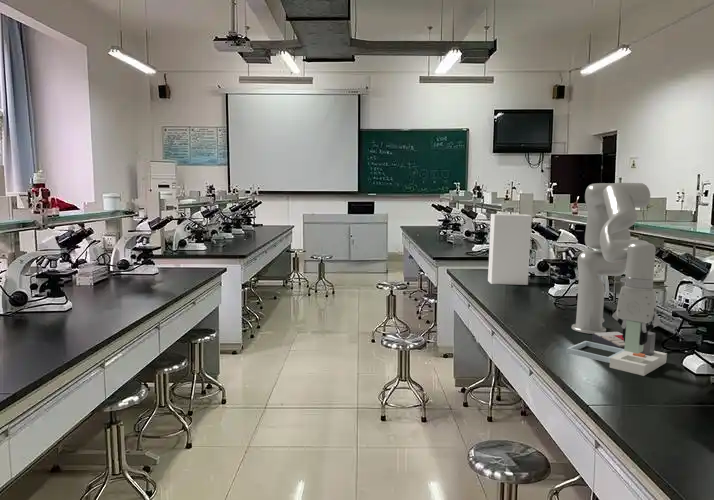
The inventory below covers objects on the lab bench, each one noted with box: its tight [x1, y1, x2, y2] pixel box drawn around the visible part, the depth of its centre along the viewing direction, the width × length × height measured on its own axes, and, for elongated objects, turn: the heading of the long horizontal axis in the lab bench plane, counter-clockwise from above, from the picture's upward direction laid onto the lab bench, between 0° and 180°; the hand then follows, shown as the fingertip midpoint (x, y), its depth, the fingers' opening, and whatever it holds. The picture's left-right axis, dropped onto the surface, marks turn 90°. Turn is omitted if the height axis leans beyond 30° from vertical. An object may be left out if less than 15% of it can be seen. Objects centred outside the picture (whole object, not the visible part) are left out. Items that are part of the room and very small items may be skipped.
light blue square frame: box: [566, 340, 624, 364], centre depth 186 cm, size 14×14×2 cm
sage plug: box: [624, 320, 643, 354], centre depth 170 cm, size 4×4×10 cm
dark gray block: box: [640, 331, 656, 356], centre depth 177 cm, size 4×4×10 cm
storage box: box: [487, 213, 533, 286], centre depth 324 cm, size 21×10×40 cm, turn 88°
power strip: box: [609, 350, 668, 377], centre depth 174 cm, size 19×10×5 cm, turn 133°
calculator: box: [591, 331, 625, 349], centre depth 197 cm, size 11×4×15 cm
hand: (634, 342), depth 170 cm, fingers closed on sage plug, 4 cm apart
